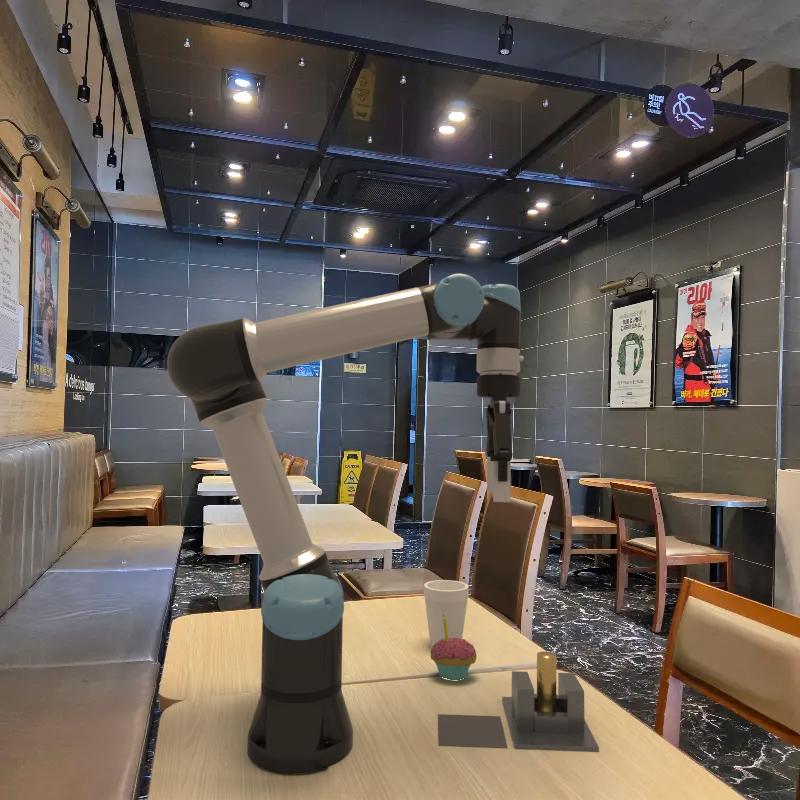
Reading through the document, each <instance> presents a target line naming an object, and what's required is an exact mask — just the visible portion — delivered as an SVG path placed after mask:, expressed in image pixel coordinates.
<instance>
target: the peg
mask: <svg viewBox="0 0 800 800" xmlns="http://www.w3.org/2000/svg"><path fill="white" fill-rule="evenodd" d="M557 657H558V656H557V654H555V653H554V652H552V651H539V652H537V654H536V694H537V712H556V695H557V667H558V666H557Z"/></svg>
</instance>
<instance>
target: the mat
mask: <svg viewBox="0 0 800 800" xmlns="http://www.w3.org/2000/svg"><path fill="white" fill-rule="evenodd" d="M501 718H502V717H501V716H499V715H473V714H470V715H468V714H446V713H445V714H444V713H443V714H442V713H437V739H438V740H437V741H438V742H437V743H438V744H437V745H438V747H454V748H455V747H457V748H458V747H460V748H481V749H482V748H483V749H484V748H487V749H509V748H508V744H507V739H506V735H505V732H504V727H503V723H502V719H501Z"/></svg>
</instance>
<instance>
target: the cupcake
mask: <svg viewBox="0 0 800 800" xmlns="http://www.w3.org/2000/svg"><path fill="white" fill-rule="evenodd" d="M443 625H444V632H445V639H441V640H439V641H438V642H436V643H435V645H434V646H433V647H431V646H430V659H431V660H432V661H434V663H435V664H436V665H435V666H436V668H437V671H438V675H439V678H440V677H443V678H447V679H450V680H460V679H463V678H465V677H466V678H467V675H468V672H469V670H470V667H471V665H472V664H475V663H476V660H477V653H476V652H477V651H476V649H475V647H474V645H473V644H472V643H470V642H469V641H467V640H466V639H464V638H462V639H460V638H451V637H450V638H449V635H448V628H447V621H446V617H444V614H443Z"/></svg>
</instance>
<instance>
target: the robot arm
mask: <svg viewBox="0 0 800 800" xmlns="http://www.w3.org/2000/svg"><path fill="white" fill-rule="evenodd" d="M520 294H521V293H520V290H519V289H518V288H517V286H515V285H512V284H506V283H495V284H491V283H490V284H485V285H482V286H481V284H480V283H479V282H478V280H476V279H475V278H474V277H472V276H471V275H469V274H465V273H453V274H451V275H450V274H449V276H448V275H447V276H446V277H444V278H443V279H441V280H439V282H435V283H431V284H426V285H422V286H418V287H412V288H408V289H407V288H406V289H402V290H398V291H395V292H389V293H384V294H381V295H376V296H371V297H367V298H362V299H358V300H354V301H348V302H344V303H340V304H336V305H331V306H326V307H321V308H318V309H317V308H316V309H313V310H307V311H303V312H299V313H294V314H289V315H286V316H281V317H276V318H271V319H268V320H262V321H257V322H254V321H251V319H248V318H247V317H243V318H239V319H235V320H229V321H223V322H218V323H213V324H207V325H201V326H197V327H194V328H191V329H188V330H186V331H185V332H184V333H181V335H179V336H178V338H177V339H176V340H175V341H174V342H173V344H172V345H171V347H170V350H169V352H168V356H167V358H166V359H167V361H166V362H167V363H166V365H167V366H166V367H167V372H168V373H167V374H168V376H169V378H170V380H171V382H172V384H173V386H174V387H175V388H176V390H177V391H179V392H180V394H182V395H184V396H186V398H189V399H190V400H191V402H192V405H193V408H194V410H195V411H194V412H195V413H196V415H197V418H198V421H199V423H200V425H202V426H204V427H206V428H208V429H211V430H212V431H213V433H214V436H215V439H216V441H217V445H218V446H219V449H220V452H221V455H222V457H223V460H224V462H225V464H226V467H227V470H228V473H229V475H230V478H231V480H232V484H233V486H234V489H235V492H236V494H237V497H238V500H239V502H240V504H241V506H242V507H241V508H242V510H243V512H244V515H245V518H246V521H247V523H248V527H249V528H250V531H251V534H252V536H253V539H254V541H255V544H256V546H257V549H258V551H259V554H260V557H261V560H262V562H263V566H262V567H263V568H262V569H261V571H260V574H259V576H258V579H259V581H260V584H261V586H262V589H263V597H262V599H263V600H262V603H261V606H260V607H261V609H260V615H261V619H262V620H261V621H262V629H261V630H262V631H261V632H262V633H261V635H262V637H261V671H260V672H261V673H260V674H261V675H260V676H261V677H260V681H261V683H260V684H261V686H260V696H259V700H258V702H257V705H256V709H255V711H254V714H253V717H252V721H251V723H250V724H251V725H250V727H249V729H248V733H247V747H246V750H247V751H246V752H247V756H248V759H249V761H251V762H252V763H253V764H254V765H256V766H257V767H258V768H260V769H262V770H265V771H267V772H268V771H269V772H272V773H277V774H282V775H284V774H285V775H303V774H311V773H315V772H320V771H325V770H327V769H328V768H329V767H331V766H334V765H335V764H338V763H339V762H340V761H342V760H343V759H345V758H346V757H347V756H348V755H349V754H350V753H351V751H352V749H353V745H354V729H353V724H352V721H351V717H350V715H349V710H348V707H347V704H346V701H345V697H344V694H343V689H342V684H343V681H342V680H343V678H342V677H343V674H342V673H343V626H344V625H343V624H344V623H343V620H344V619H343V618H344V617H343V615H344V610H345V598H344V596H345V595H344V593H345V592H344V589H343V586H342V583H341V581H340V579H339V578H338V576H337V575H336V574H335V572H334V571H333V568H332V566H331V563H330V561H329V558H328V555H327V553H326V550H325V549H324V548H323V547H321V546H318V545H316V544H314V543H313V542H312V539H311V537H310V533H309V531H308V528H307V526H306V524H305V521H304V519H303V515H302V513H301V511H300V508H299V505H298V501H297V500H296V497H295V495H294V491H293V489H292V487H291V483H290V482H289V477H287V476H288V475H287V474H286V471H285V469H284V466H283V463H282V460H281V458H280V456H279V453H278V449H277V447H276V445H275V442H274V439H273V437H272V434H271V432H270V429H269V427H268V424H267V422H266V419H265V416H264V413H263V412H264V408H265V406H266V403H267V402H268V399H267V396H266V393H265V390H264V388H263V385H262V382H261V381H263V379H265V376H266V375H267V374H268V373H272V372H276V371H281V370H283V369H284V370H285V369H288V368H292V367H297V366H301V365H302V366H303V365H305V364H310V363H315V362H318V361H319V362H320V361H322V360H327V359H331V358H336V357H339V356H344V355H348V354H349V355H350V354H352V353H357V352H361V351H365V350H370V349H374V348H378V347H382V346H388V345H391V344H396V343H401V342H404V341H409V340H412V339H419V340H427V341H431V340H434V341H435V340H436V341H437V340H441V341H443V340H445V341H446V340H448V341H451V340H453V341H455V340H456V341H460V340H461V341H462V340H463V341H476V372H477V373H478V374H479V375H478V376H477V377H476V395H477V397H478V398H486V399H487V398H489V399H490V403H488V405H487V407H486V409H485V415H486V429H487V430H486V432H487V433H486V448H485V451H486V493H487V494H493V495H492V497H493V499H492V500H493V501H492V502H493V503H511V491H512V490H511V485H512V484H511V481H512V479H511V469H512V468H511V467H512V465H511V464H512V463H511V460H512V458H513V456H514V454H513V448H512V447H513V446H512V430H511V429H512V428H511V427H512V425H511V423H512V421H511V414H512V408H511V404H512V403H511V402H510V400H508V399H510V398H511V399H512V398H513V399H514V398H518V397H520V396H521V377H520V376H519V375H517V374H519V373H520V372H521V362H523V361H524V359H525V358H524V356H523V355H520V353H521V324H522V323H521V321H522V317H521V315H522V306H521V295H520Z"/></svg>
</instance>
